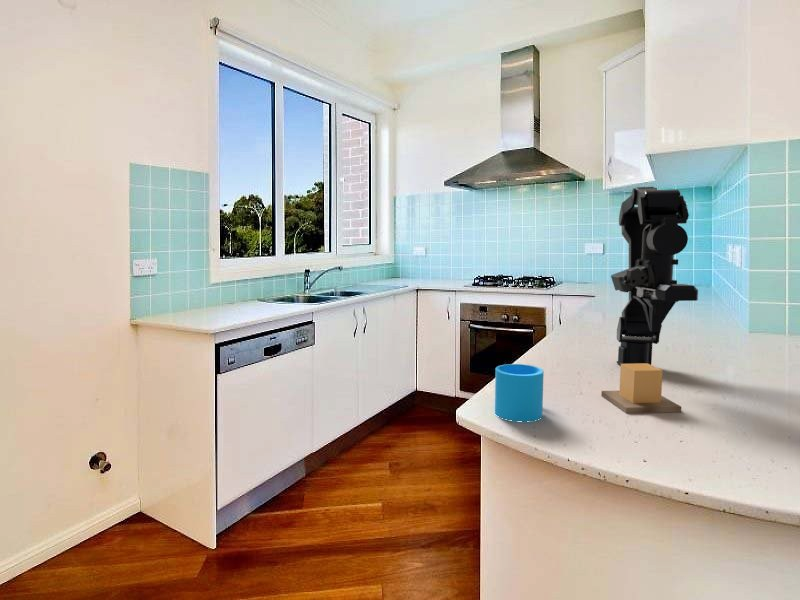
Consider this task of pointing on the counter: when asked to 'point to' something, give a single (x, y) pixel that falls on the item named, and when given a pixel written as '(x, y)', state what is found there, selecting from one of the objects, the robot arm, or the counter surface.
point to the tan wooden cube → (641, 383)
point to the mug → (519, 392)
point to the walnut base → (640, 404)
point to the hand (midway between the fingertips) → (653, 331)
